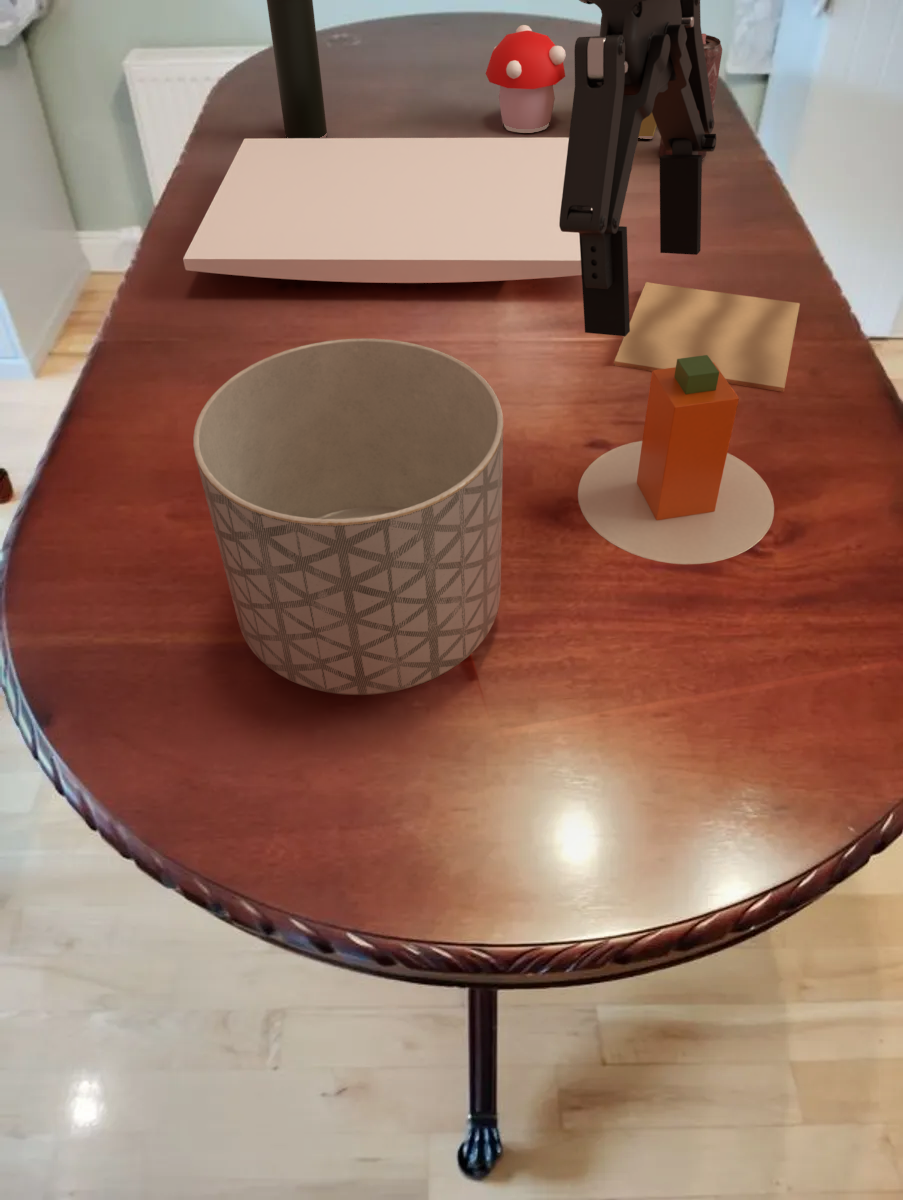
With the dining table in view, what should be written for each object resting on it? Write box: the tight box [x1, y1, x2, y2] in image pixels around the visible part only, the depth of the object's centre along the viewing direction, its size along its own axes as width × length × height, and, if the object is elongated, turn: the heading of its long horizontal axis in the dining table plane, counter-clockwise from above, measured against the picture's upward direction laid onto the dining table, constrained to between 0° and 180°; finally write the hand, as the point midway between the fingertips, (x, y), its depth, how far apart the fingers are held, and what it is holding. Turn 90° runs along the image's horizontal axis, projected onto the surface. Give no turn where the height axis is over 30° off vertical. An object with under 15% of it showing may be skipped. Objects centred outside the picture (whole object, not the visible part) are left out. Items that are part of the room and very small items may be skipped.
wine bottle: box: [266, 0, 328, 138], centre depth 128 cm, size 6×6×30 cm
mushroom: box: [485, 24, 567, 129], centre depth 136 cm, size 11×11×12 cm
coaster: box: [613, 281, 801, 393], centre depth 100 cm, size 16×16×1 cm
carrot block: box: [637, 355, 740, 520], centre depth 78 cm, size 5×5×13 cm
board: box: [182, 137, 592, 284], centre depth 117 cm, size 45×32×5 cm
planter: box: [192, 337, 504, 696], centre depth 68 cm, size 19×19×18 cm
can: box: [658, 33, 723, 160], centre depth 126 cm, size 6×6×14 cm
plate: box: [577, 440, 775, 565], centre depth 83 cm, size 16×16×1 cm
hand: (646, 290), depth 67 cm, fingers open, 13 cm apart
